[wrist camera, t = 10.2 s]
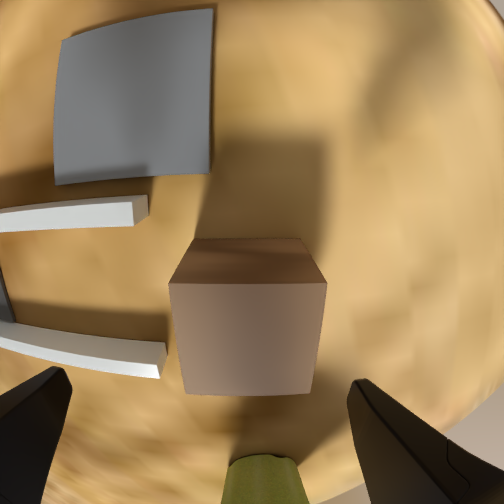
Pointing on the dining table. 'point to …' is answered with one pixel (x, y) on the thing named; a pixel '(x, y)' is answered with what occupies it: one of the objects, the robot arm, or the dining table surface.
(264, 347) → the walnut block
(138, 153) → the slate coaster
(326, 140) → the dining table surface
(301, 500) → the plant pot
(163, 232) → the dining table surface
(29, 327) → the channel
